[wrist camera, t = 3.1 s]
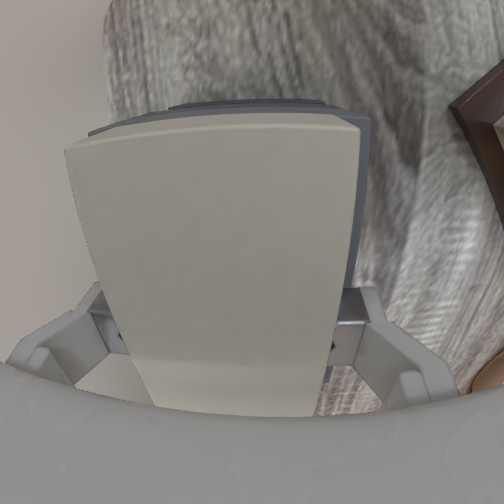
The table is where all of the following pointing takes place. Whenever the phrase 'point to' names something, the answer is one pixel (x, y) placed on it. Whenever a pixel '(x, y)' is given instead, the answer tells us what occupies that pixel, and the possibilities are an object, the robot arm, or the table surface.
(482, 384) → the bowl
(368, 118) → the grey books
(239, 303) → the white book
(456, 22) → the table surface
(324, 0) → the table surface
